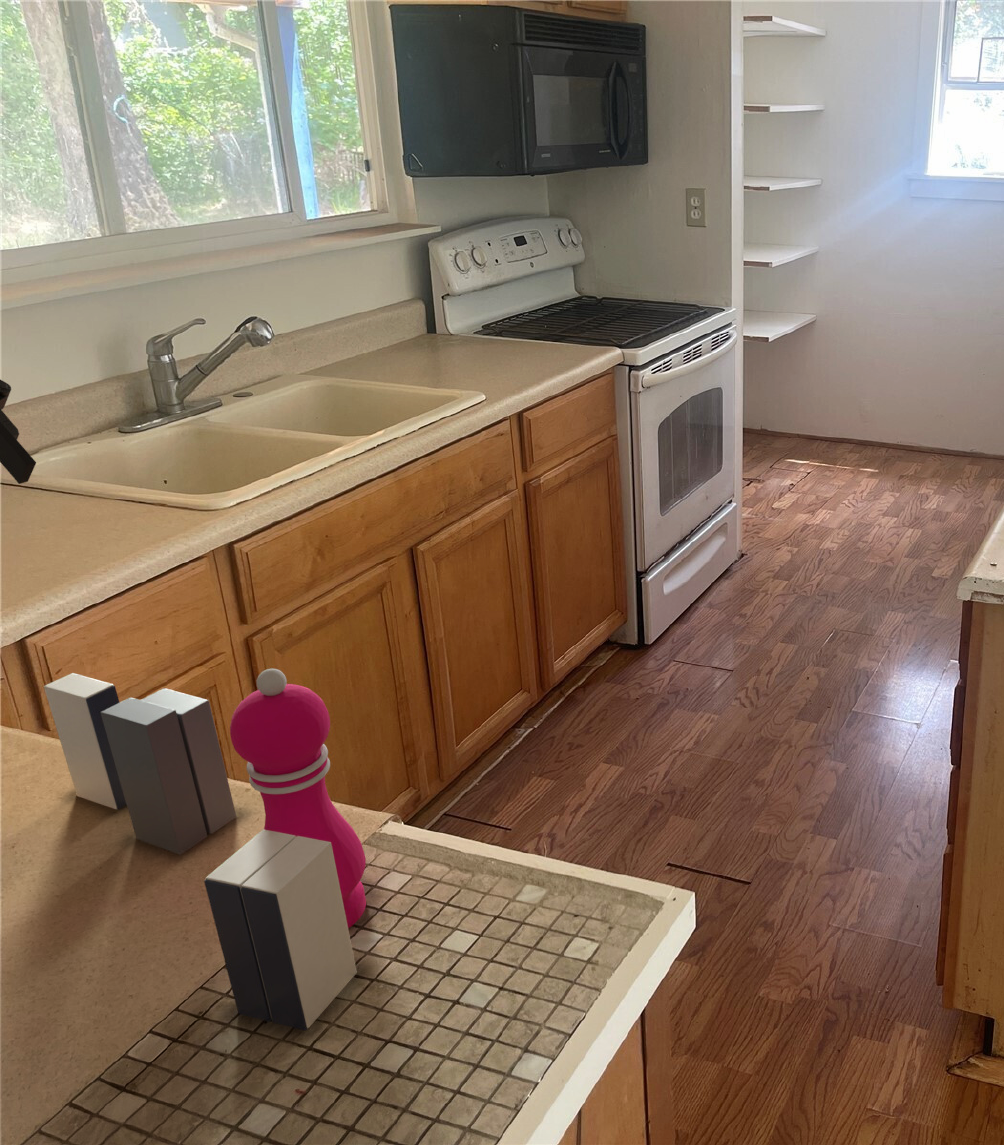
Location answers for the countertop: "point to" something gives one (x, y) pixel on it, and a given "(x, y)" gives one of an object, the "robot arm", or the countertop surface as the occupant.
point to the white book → (86, 736)
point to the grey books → (170, 768)
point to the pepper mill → (297, 774)
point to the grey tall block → (282, 927)
